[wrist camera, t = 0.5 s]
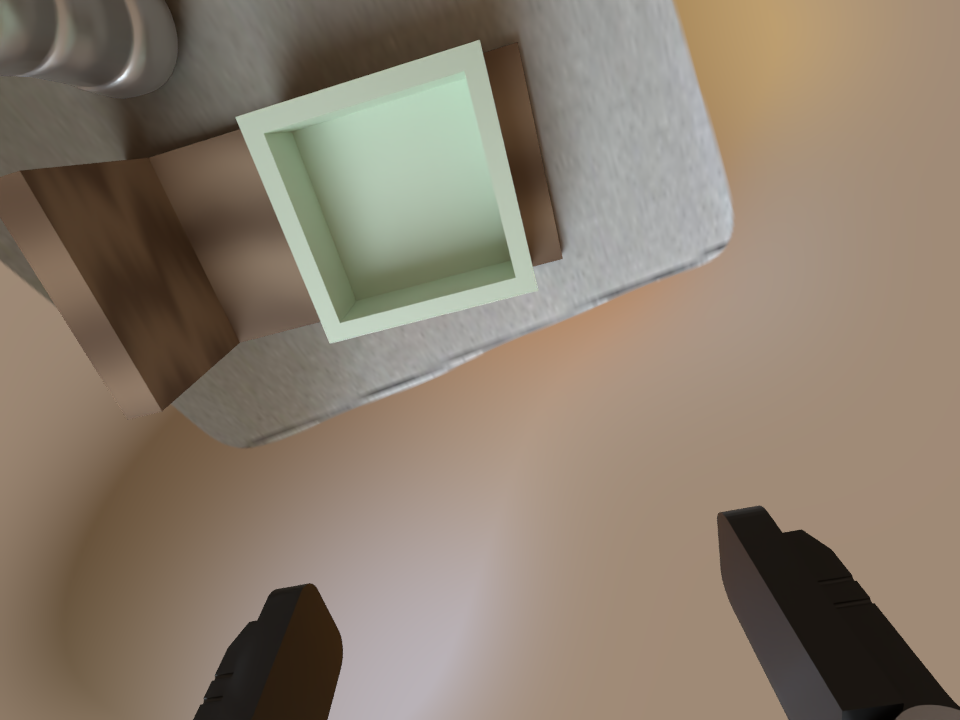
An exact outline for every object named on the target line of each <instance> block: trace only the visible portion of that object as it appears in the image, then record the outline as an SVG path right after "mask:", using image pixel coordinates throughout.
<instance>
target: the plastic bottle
mask: <svg viewBox="0 0 960 720" xmlns="http://www.w3.org/2000/svg"><path fill="white" fill-rule="evenodd" d="M177 55H178V38H177V32H176V27H175V23H174V20H173V17H172V14H171V12H170V10H169V8H168V6H167V4H166V2H165V0H0V76H20V77H34V78H39V79H44V80H49V81H54V82H59V83H64V84H69V85H71V86H74V87H76V88H79V89H81V90H85V91H88V92H92V93H95V94H99V95H103V96H107V97H111V98H120V99H126V98H132V97H137V96H141V95H145V94H148V93H151V92H153V91H155V90H157V89H159V88H160V87H161V86H162V85H164V84H165V83H166V82H167V80H168V79H169V77H170V76H171V75H172V72H173V70H174V67H175V65H176V60H177Z"/></svg>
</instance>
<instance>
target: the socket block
mask: <svg viewBox="0 0 960 720" xmlns="http://www.w3.org/2000/svg"><path fill="white" fill-rule="evenodd" d="M235 118H236V120H237V122H238V125H239V127H240V130H241V132H242V134H243V137H244V139H245V142H246V144H247V146H248V149H249V151H250V154H251V156H252V158H253V161H254V163H255V166H256V168H257V170H258V173H259V175H260V178H261V180H262V182H263V185H264V187H265V189H266V192H267V194H268V197H269V199H270V201H271V204H272V206H273V209H274V211H275V213H276V216H277V218H278V221H279V223H280V225H281V228H282V230H283V233H284V235H285V237H286V240H287V242H288V245H289V247H290V249H291V252H292V254H293V257H294V259H295V261H296V264H297V266H298V268H299V271H300V273H301V276H302V278H303V280H304V283H305V285H306V288H307V290H308V292H309V295H310V297H311V300H312V302H313V304H314V307H315V309H316V312H317V314H318V316H319V319H320V321H321V324H322V326H323V328H324V331H325V333H326V336H327V338H328V340H329V343H334V342H338V341H342V340H346V339H350V338H354V337H358V336H362V335H366V334H370V333H373V332H377V331H381V330H385V329H389V328H393V327H397V326H401V325H405V324H409V323H413V322H417V321H421V320H425V319H429V318H433V317H436V316H440V315H444V314H448V313H452V312H456V311H460V310H464V309H468V308H472V307H476V306H480V305H484V304H488V303H492V302H496V301H499V300H503V299H507V298H511V297H515V296H519V295H523V294H527V293H531V292H535V291H538V287H537V283H536V279H535V275H534V270H533V266H532V262H531V257H530V253H529V249H528V245H527V240H526V236H525V232H524V227H523V223H522V219H521V215H520V210H519V206H518V202H517V197H516V193H515V189H514V185H513V180H512V176H511V172H510V167H509V163H508V159H507V155H506V150H505V146H504V142H503V137H502V133H501V129H500V125H499V120H498V116H497V112H496V107H495V103H494V99H493V95H492V90H491V86H490V82H489V77H488V73H487V69H486V65H485V60H484V56H483V52H482V47H481V43H480V40H477V41H474V42H471V43H468V44H465V45H461V46H458V47H455V48H452V49H449V50H446V51H443V52H439V53H436V54H433V55H430V56H427V57H424V58H420V59H417V60H414V61H411V62H408V63H405V64H401V65H398V66H395V67H392V68H389V69H386V70H383V71H379V72H376V73H373V74H370V75H367V76H364V77H360V78H357V79H354V80H351V81H348V82H345V83H341V84H338V85H335V86H332V87H329V88H326V89H323V90H319V91H316V92H313V93H310V94H307V95H304V96H300V97H297V98H294V99H291V100H288V101H285V102H281V103H278V104H275V105H272V106H269V107H266V108H263V109H259V110H256V111H253V112H250V113H247V114H244V115H240V116H237V117H235Z"/></svg>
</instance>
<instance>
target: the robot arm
mask: <svg viewBox="0 0 960 720" xmlns="http://www.w3.org/2000/svg"><path fill="white" fill-rule="evenodd" d="M717 524H718V538H719V552H720V566H721V575H722V580H723V584H724V587H725V591H726V593H727V596H728V599H729V601H730V604H731V606H732V608H733V610H734V612H735V614H736V616H737V618H738V620H739V622H740V623H741V626H742V628H743V630H744V632H745V634H746V636H747V638H748V640H749V642H750V644H751V646H752V648H753V650H754V652H755V654H756V656H757V658H758V660H759V662H760V664H761V666H762V668H763V669H764V672H765V674H766V676H767V678H768V679H769V682H770V684H771V686H772V688H773V689H774V691H775V693H776V695H777V697H778V699H779V701H780V703H781V705H782V707H783V709H784V711H785V713H786V715H787V717H788V719H789V720H960V707H959V706H958V705H957V704H956V703H955V702H954V701H953V700H952V699H951V698H950V697H949V695H948V694H947V693H946V692H945V691H944V689H943V688H942V687H941V686H940V685H939V683H938V682H937V681H936V680H935V678H934V677H933V676H932V674H931V673H930V672H929V671H928V669H927V668H926V667H925V666H924V665H923V663H922V662H921V661H920V660H919V658H918V657H917V656H916V655H915V653H914V652H913V651H912V650H911V649H910V647H909V646H908V645H907V643H906V642H905V641H904V640H903V638H902V637H901V636H900V635H899V633H898V632H897V631H896V630H895V628H894V627H893V626H892V625H891V623H890V622H889V621H888V620H887V618H886V617H885V616H884V615H883V614H882V612H881V611H880V610H879V608H878V607H877V606H876V605H875V604H873V603H872V602H871V600H870V597H869V596H868V595H867V593H866V592H865V591H864V590H863V588H862V587H861V586H860V585H859V583H858V582H857V581H854V579H853V577H852V575H851V573H850V572H849V571H848V570H847V569H846V567H845V566H844V565H843V563H842V562H841V561H840V560H839V558H838V557H837V556H836V555H835V553H834V552H833V551H832V550H831V549H830V548H828V547H827V546H825V545H824V544H822V543H821V542H819V541H818V540H816V539H815V538H813V537H812V536H810V535H809V534H808V533H806V532H805V531H803V530H797V531H790V532H785V533H782V532H781V530H780V529H779V527H778V526H777V525H776V523H775V522H774V520H773V519H772V518H771V516H770V515H769V513H768V512H767V511H766V510H765V509H764V508H763V507H762V506H755V507H749V508H743V509H737V510H731V511H726V512H720V513H718V516H717ZM342 658H343V646H342V639H341V635H340V633H339V630H338V628H337V626H336V624H335V622H334V620H333V618H332V616H331V614H330V613H329V611H328V609H327V607H326V605H325V603H324V601H323V599H322V597H321V595H320V593H319V591H318V589H317V588H316V587H315V585H313V584H310V583H309V584H304V585H298V586H293V587H287V588H281V589H276V590H274V591H272V592H271V594H270V595H269V596H268V598H267V601H266V603H265V605H264V607H263V609H262V612H261V614H260V616H259V618H258V620H257V621H252V622H249V623H248V624H247V625H246V627H245V628H244V629H243V630H242V632H241V633H240V634H239V635H238V637H237V638H236V639H235V640H234V641H233V642H232V644H231V645H230V646H229V647H228V649H227V651H226V653H225V655H224V657H223V659H222V662H221V664H220V666H219V668H218V670H217V672H216V674H215V680H214V681H212V682H211V684H210V686H209V688H208V690H207V692H206V694H205V696H204V703H203V704H202V705H200V707H199V709H198V711H197V713H196V715H195V717H194V719H193V720H327V719H328V716H329V712H330V707H331V704H332V700H333V697H334V692H335V689H336V685H337V681H338V677H339V674H340V670H341V665H342Z"/></svg>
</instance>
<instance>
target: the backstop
mask: <svg viewBox="0 0 960 720" xmlns="http://www.w3.org/2000/svg"><path fill="white" fill-rule="evenodd" d="M483 56H484V60H485V65H486V69H487V73H488V77H489V82H490V86H491V90H492V95H493V99H494V103H495V107H496V112H497V116H498V120H499V125H500V129H501V133H502V137H503V142H504V146H505V150H506V155H507V159H508V163H509V167H510V172H511V176H512V180H513V185H514V189H515V193H516V197H517V202H518V206H519V210H520V215H521V219H522V223H523V227H524V232H525V236H526V240H527V245H528V249H529V253H530V257H531V262H532V266H537V265H541V264H544V263H548V262H552V261H556V260H560V259H563V258H562V253H561V248H560V244H559V239H558V234H557V229H556V224H555V220H554V215H553V210H552V205H551V200H550V196H549V191H548V186H547V181H546V176H545V172H544V167H543V162H542V157H541V152H540V148H539V143H538V138H537V133H536V128H535V124H534V119H533V114H532V109H531V104H530V100H529V95H528V90H527V85H526V80H525V76H524V71H523V66H522V61H521V56H520V52H519V47H518V42H516V43H513V44H510V45H507V46H504V47H500V48H497V49H494V50H491V51H488V52H485V53H483ZM0 218H1V219H2V221H3V223H4V224H5V226H6V227H7V229H8V230H9V232H10V234H11V235H12V237H13V238H14V240H15V242H16V243H17V245H18V246H19V248H20V250H21V251H22V253H23V254H24V256H25V258H26V259H27V261H28V262H29V264H30V266H31V267H32V269H33V270H34V272H35V274H36V275H37V277H38V278H39V280H40V282H41V283H42V285H43V286H44V288H45V289H46V291H47V293H48V294H49V296H50V297H51V299H52V301H53V302H54V304H55V305H56V307H57V309H58V310H59V312H60V313H61V315H62V317H63V318H64V320H65V321H66V323H67V325H68V326H69V328H70V329H71V331H72V332H73V334H74V336H75V337H76V339H77V341H78V342H79V344H80V345H81V347H82V348H83V350H84V352H85V353H86V355H87V356H88V358H89V360H90V361H91V363H92V364H93V366H94V368H95V369H96V371H97V372H98V374H99V376H100V377H101V379H102V380H103V382H104V384H105V385H106V387H107V388H108V390H109V391H110V393H111V395H112V396H113V398H114V399H115V401H116V403H117V404H118V406H119V407H120V409H121V410H122V412H123V414H124V415H125V417H126V419H127V420H129V419H133V418H137V417H140V416H145V415H149V414H153V413H157V412H161V411H163V410H164V409H165V408H166V407H167V406H169V405H170V404H171V403H172V402H173V401H174V400H175V399H176V398H178V397H179V396H180V395H181V394H182V393H183V392H184V391H186V390H187V389H188V388H189V387H190V386H191V385H192V384H193V383H195V382H196V381H197V380H198V379H199V378H200V377H201V376H203V375H204V374H205V373H206V372H207V371H208V370H209V369H210V368H212V367H213V366H214V365H215V364H216V363H217V362H218V361H220V360H221V359H222V358H223V357H224V356H225V355H226V354H227V353H229V352H230V351H231V350H232V349H233V348H234V347H235V346H237V345H238V344H239V343H241V342H244V341H248V340H252V339H256V338H260V337H264V336H268V335H271V334H275V333H279V332H283V331H287V330H291V329H294V328H298V327H302V326H306V325H310V324H314V323H318V322H321V321H320V319H319V316H318V314H317V312H316V309H315V307H314V304H313V302H312V300H311V297H310V295H309V292H308V290H307V288H306V285H305V283H304V280H303V278H302V276H301V273H300V271H299V268H298V266H297V264H296V261H295V259H294V257H293V254H292V252H291V249H290V247H289V245H288V242H287V240H286V237H285V235H284V233H283V230H282V228H281V225H280V223H279V221H278V218H277V216H276V213H275V211H274V209H273V206H272V204H271V201H270V199H269V197H268V194H267V192H266V189H265V187H264V185H263V182H262V180H261V178H260V175H259V173H258V170H257V168H256V166H255V163H254V161H253V158H252V156H251V154H250V151H249V149H248V146H247V144H246V142H245V139H244V137H243V134H242V132H241V130H240V129H239V130H236V131H232V132H229V133H226V134H223V135H220V136H216V137H213V138H210V139H207V140H204V141H200V142H197V143H194V144H191V145H188V146H185V147H181V148H178V149H175V150H172V151H169V152H165V153H162V154H159V155H156V156H153V157H149V158H142V159H132V160H122V161H112V162H102V163H92V164H82V165H72V166H62V167H53V168H43V169H33V170H23V171H18V172H14V173H11V174H8V175H5V176H2V177H0Z"/></svg>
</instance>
